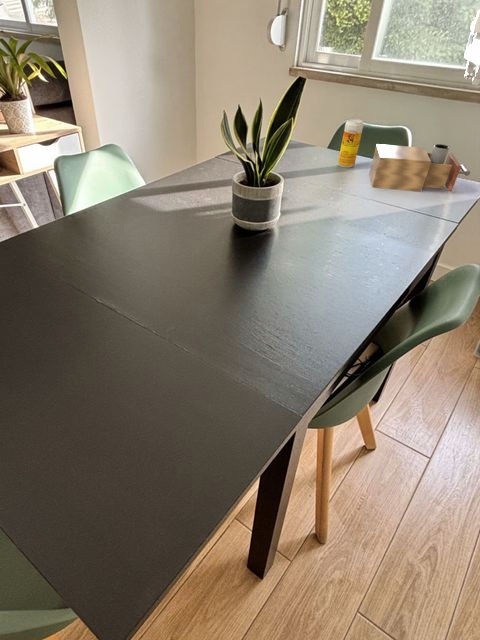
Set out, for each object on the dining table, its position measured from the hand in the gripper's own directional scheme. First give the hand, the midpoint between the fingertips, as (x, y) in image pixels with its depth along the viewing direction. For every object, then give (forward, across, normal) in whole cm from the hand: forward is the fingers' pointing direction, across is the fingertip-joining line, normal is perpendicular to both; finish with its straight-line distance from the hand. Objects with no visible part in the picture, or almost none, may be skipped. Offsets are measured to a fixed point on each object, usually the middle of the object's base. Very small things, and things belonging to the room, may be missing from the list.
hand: (470, 82), depth 130 cm
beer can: (+29, +6, +31) cm, 43 cm away
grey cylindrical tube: (+27, -7, +4) cm, 28 cm away
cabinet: (+29, -7, +15) cm, 33 cm away
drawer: (+28, -7, +3) cm, 29 cm away
